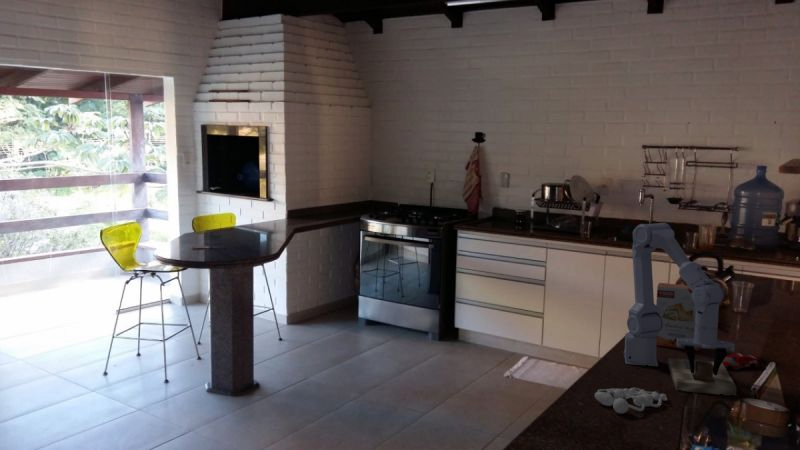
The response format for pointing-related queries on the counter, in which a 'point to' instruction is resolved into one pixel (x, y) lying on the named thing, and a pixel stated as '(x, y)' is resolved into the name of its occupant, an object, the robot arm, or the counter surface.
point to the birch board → (687, 383)
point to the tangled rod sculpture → (621, 404)
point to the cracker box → (675, 314)
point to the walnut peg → (703, 371)
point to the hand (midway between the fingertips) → (703, 373)
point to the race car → (740, 361)
